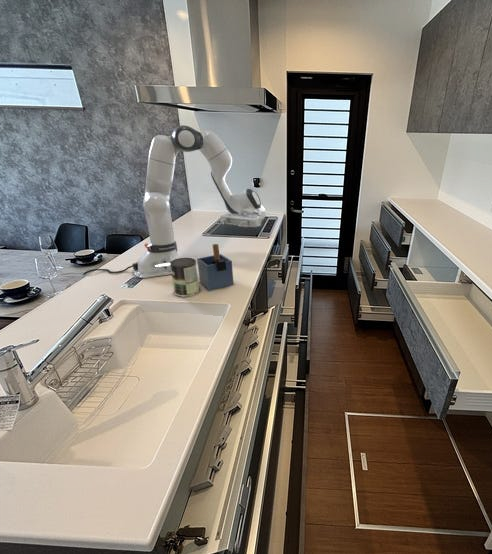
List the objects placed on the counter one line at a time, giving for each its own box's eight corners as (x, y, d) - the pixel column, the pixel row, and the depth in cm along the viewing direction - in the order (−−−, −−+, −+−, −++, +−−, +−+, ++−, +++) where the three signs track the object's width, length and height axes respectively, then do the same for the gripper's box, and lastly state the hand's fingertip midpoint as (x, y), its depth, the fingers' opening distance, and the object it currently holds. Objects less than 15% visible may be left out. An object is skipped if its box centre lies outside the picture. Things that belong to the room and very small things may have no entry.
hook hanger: (214, 280, 138) (209, 244, 133) (222, 278, 141) (217, 242, 135) (219, 284, 134) (214, 246, 128) (228, 282, 136) (223, 245, 130)
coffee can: (174, 298, 127) (169, 267, 121) (174, 288, 136) (170, 258, 130) (200, 295, 130) (196, 264, 125) (199, 285, 139) (195, 256, 134)
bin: (209, 290, 134) (206, 266, 130) (199, 282, 143) (197, 258, 138) (233, 284, 141) (231, 260, 137) (223, 276, 149) (220, 253, 145)
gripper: (228, 209, 157) (212, 214, 145) (263, 213, 151) (249, 219, 139) (229, 221, 159) (213, 227, 148) (263, 226, 153) (249, 232, 141)
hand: (231, 223), depth 143 cm, fingers open, 8 cm apart
